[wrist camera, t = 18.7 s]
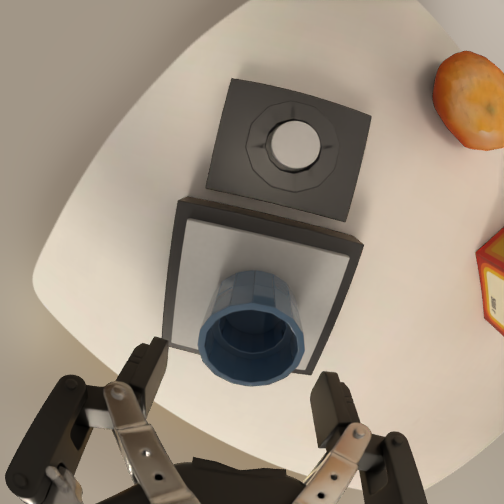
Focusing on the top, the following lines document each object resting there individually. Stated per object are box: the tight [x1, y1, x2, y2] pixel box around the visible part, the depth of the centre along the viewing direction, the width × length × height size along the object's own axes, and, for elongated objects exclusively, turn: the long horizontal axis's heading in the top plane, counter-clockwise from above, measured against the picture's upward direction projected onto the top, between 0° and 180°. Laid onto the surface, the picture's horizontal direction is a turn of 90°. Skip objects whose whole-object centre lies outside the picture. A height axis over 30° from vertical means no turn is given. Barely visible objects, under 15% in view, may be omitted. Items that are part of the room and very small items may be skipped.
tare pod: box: [206, 78, 372, 222], centre depth 17 cm, size 10×8×3 cm
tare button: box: [271, 121, 320, 168], centre depth 15 cm, size 3×3×2 cm
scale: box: [162, 196, 364, 375], centre depth 20 cm, size 13×12×3 cm
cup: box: [197, 270, 305, 386], centre depth 17 cm, size 6×6×5 cm
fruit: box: [432, 51, 504, 151], centre depth 13 cm, size 8×8×8 cm
